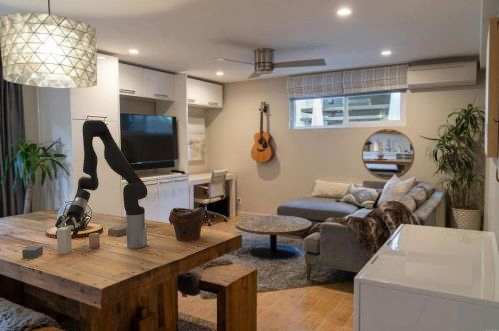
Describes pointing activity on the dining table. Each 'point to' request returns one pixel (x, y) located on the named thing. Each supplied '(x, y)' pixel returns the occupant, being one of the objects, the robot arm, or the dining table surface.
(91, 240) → the pink rounded pebble
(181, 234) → the dark brown pot
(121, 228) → the brick
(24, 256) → the grey squat block
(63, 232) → the tall cream block
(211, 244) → the dining table surface
